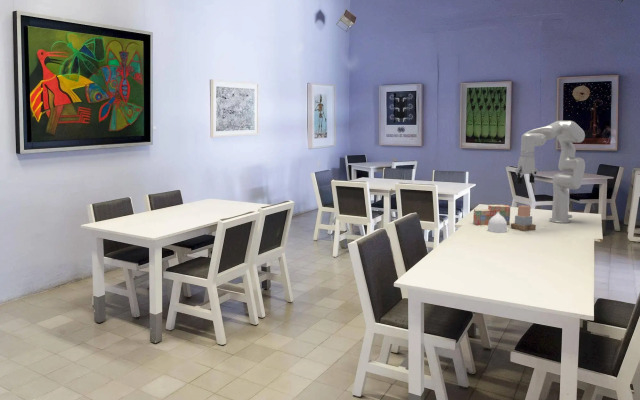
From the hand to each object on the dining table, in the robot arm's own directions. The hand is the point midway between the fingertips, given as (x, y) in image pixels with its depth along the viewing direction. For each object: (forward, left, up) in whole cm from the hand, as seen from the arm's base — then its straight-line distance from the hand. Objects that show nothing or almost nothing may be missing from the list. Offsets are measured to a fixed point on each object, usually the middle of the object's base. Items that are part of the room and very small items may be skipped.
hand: (525, 183), depth 331 cm
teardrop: (+18, -3, -29) cm, 34 cm away
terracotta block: (0, 0, -20) cm, 20 cm away
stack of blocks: (+7, -20, -29) cm, 35 cm away
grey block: (0, 0, -25) cm, 25 cm away
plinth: (0, 0, -28) cm, 28 cm away
